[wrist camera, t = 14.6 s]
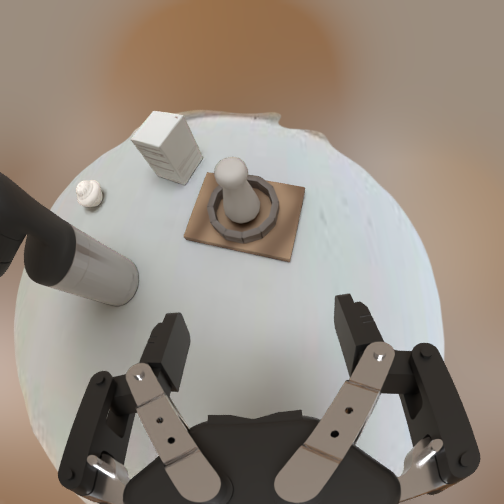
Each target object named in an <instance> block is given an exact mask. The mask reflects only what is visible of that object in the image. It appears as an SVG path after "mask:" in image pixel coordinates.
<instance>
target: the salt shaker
mask: <svg viewBox="0 0 504 504" xmlns="http://www.w3.org/2000/svg"><path fill="white" fill-rule="evenodd" d="M214 176H215V179H216V182H217V183H218V184H219V185H220V186H221V187H223V206H224V211H225V215H226V216H227V217H228V218H229V219H230V220H232V221H233V222H237V223H240V224H243V223H246V222H249V221H251V220H253V219H254V218H255V217H256V216H257V214H258V213H259V209H260V201H259V199H258V196H257V195H256V193H255V192H254V190H253V189H252V187H251V186H250V184H249V183H248V181H247V176H248V169H247V167H246V164H245V163H244V161H242V160H241V159H240V158H237V157H228V158H224V159H223V160H221V161H219V163H218V164H217V165H216V166H215V170H214Z"/></svg>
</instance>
